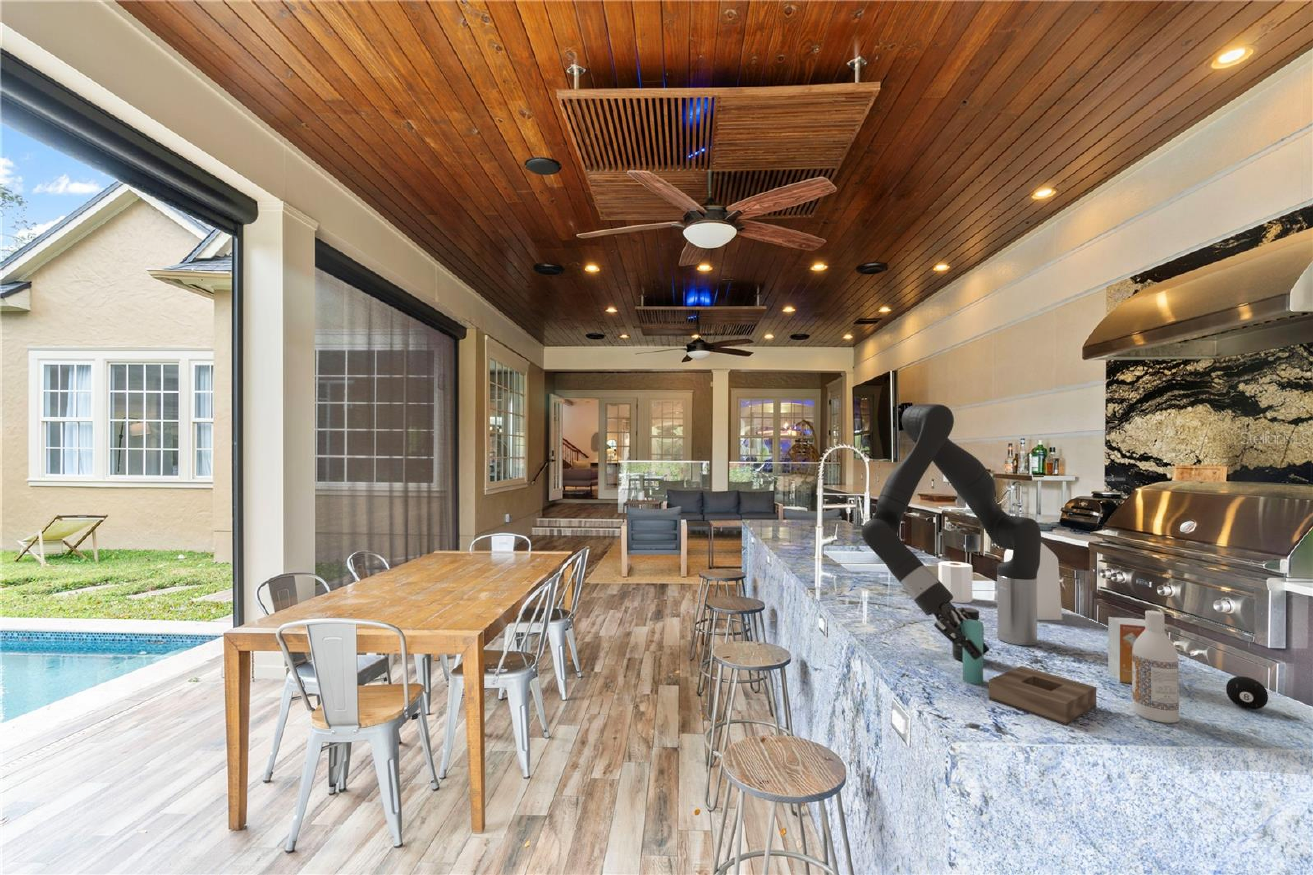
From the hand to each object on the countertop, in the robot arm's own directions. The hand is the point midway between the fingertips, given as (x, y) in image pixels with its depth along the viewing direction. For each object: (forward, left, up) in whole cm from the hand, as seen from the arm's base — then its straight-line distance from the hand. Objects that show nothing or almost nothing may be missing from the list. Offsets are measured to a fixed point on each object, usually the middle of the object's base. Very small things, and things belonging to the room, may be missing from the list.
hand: (982, 654), depth 132 cm
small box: (-31, +18, -6) cm, 36 cm away
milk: (-69, -20, -7) cm, 72 cm away
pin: (0, -2, -6) cm, 7 cm away
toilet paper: (-67, -43, -6) cm, 80 cm away
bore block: (0, +12, -6) cm, 14 cm away
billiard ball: (-32, +36, -7) cm, 48 cm away
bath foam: (-12, +27, -6) cm, 30 cm away
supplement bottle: (-13, -10, -6) cm, 17 cm away
